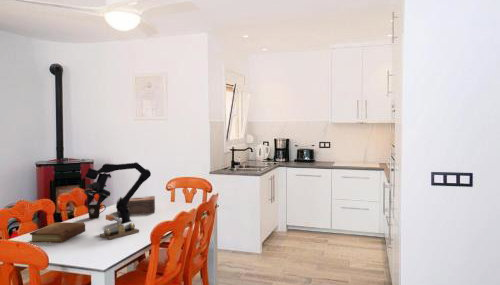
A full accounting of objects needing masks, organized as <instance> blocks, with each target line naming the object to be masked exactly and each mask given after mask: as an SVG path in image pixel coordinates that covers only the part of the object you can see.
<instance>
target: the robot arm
mask: <svg viewBox="0 0 500 285" xmlns="http://www.w3.org/2000/svg"><path fill="white" fill-rule="evenodd" d="M130 169H131V170H133V169H135V170H136V171H138V172H139V173H140V174H139V176H138V178H137V179H136V181H135V182H134V184H133V185H132V186H131V187H130V189H129V190H128V191H127V192H126V194H125V195H124V196H123V197H122V196H120V197H119V198H120V199H119V198H118V199H119V200H118V199H117V200H116V203H115V208H116V209H115V210H116V211H117V210H118V211H120V213H119V215H117V218H122V222H121V224H125V223H129V222H132V220H131V214H130V212H129V207H127V204H128V202H129V200H130V198H131V197H134V195H135V193H136V192H137V190H138V189H140V187H141V185H143V183H144V182H146V181H147V180H148V179H149V178H150V177H151V175H152V174H151V170H149V169H148V168H145V167H144V166H142V165H141V164H140V163H139V162H136V161H135V162H130V163H119V164H117V163H103V165H102V166H101V167H100V168H99V169H98V170H97V169H94V168H91V167H88V170H87V172H86V174H85V176H84V179H89V180H90V181H91V180H92V181H94V180H96V181H94V182H92V183H86V184H85V189H84V192H83V193H84V195H85V196H86V206H87V205H89V204H90V203H92V202H93V200H94V198H95V197H96V195H98V198H97V201H96V202H97V206H99V205H100V206H101V205H102V203H103V202H104V201H105V200H106V199H108V198H109V197H110V196H111V191H110V190H107V189H105V188H106V187H107V185H106V184H107V181H108V178H109V179H112V175H111V173H112V172H115V171H123V170H130Z"/></svg>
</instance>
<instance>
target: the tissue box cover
mask: <svg viewBox="0 0 500 285" xmlns="http://www.w3.org/2000/svg"><path fill="white" fill-rule="evenodd" d="M119 199H120V197H119V198H118V199H117V201H118V200H119ZM155 199H156V196H155V195H150V196H149V195H146V196H132V197H131V198H130V200H129V202H128V204H127V207H129V212H130V215H139V214H140V215H141V214H154V213H155V212H156V211H155V210H156V202H155V201H156V200H155ZM119 213H120V211H118V210H117V209H116V214H117V216H118V215H119Z"/></svg>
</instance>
